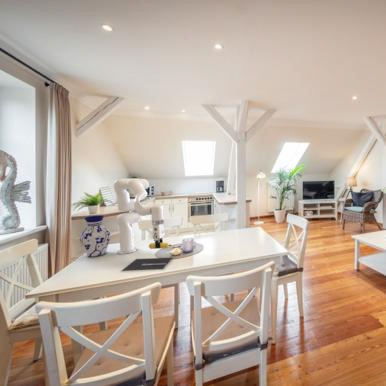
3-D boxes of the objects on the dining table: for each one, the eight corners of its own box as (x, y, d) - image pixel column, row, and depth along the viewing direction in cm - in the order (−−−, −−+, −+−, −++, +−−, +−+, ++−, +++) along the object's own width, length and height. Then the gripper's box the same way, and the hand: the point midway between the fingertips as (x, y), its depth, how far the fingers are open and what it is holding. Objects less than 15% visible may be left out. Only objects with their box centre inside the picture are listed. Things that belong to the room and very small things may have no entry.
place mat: (136, 259, 166) (136, 259, 166) (172, 258, 169) (172, 257, 169) (121, 271, 146) (121, 270, 146) (162, 269, 149) (162, 269, 149)
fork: (141, 266, 154) (141, 265, 154) (142, 264, 156) (142, 263, 156) (164, 265, 156) (164, 264, 156) (166, 263, 158) (166, 263, 158)
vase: (81, 261, 162) (78, 221, 159) (80, 254, 176) (77, 216, 173) (113, 254, 175) (110, 217, 172) (110, 248, 189) (107, 213, 186)
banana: (172, 246, 166) (171, 241, 166) (170, 248, 162) (170, 243, 162) (150, 247, 164) (150, 242, 164) (147, 249, 160) (147, 244, 160)
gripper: (158, 224, 153) (160, 250, 155) (167, 219, 170) (168, 243, 172) (147, 225, 152) (148, 251, 154) (157, 220, 169) (158, 243, 171)
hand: (159, 246), depth 163 cm, fingers closed on banana, 4 cm apart
